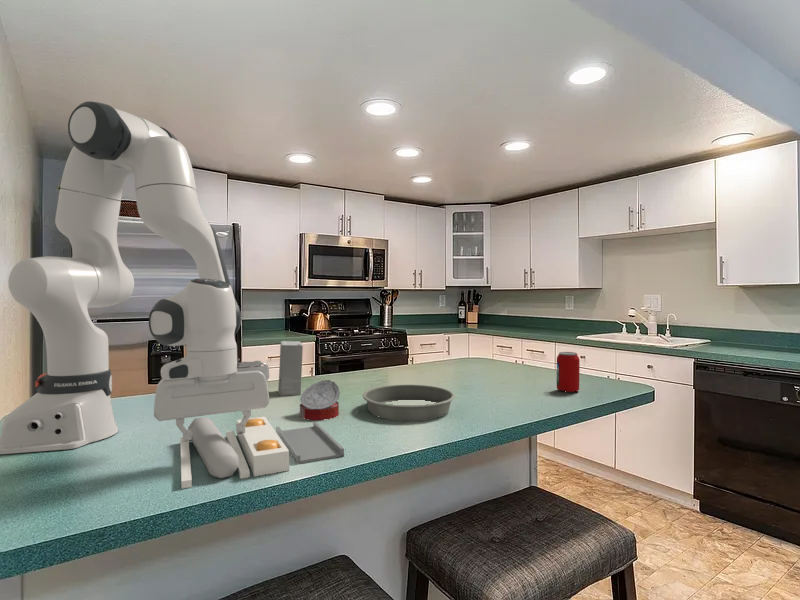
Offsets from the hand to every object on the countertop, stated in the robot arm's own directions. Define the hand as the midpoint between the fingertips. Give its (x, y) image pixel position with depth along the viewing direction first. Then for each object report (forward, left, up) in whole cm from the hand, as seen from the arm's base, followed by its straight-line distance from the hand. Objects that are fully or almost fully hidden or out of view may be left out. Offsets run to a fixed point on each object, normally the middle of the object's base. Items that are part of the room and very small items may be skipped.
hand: (214, 436), depth 88 cm
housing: (+3, 0, -4) cm, 5 cm away
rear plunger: (+8, +8, -4) cm, 12 cm away
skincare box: (+25, +50, -4) cm, 56 cm away
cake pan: (+49, +16, -5) cm, 52 cm away
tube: (0, +1, -5) cm, 5 cm away
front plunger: (+8, -8, -3) cm, 12 cm away
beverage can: (+104, +14, -4) cm, 105 cm away
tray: (+18, 0, -4) cm, 18 cm away
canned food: (+26, +21, -5) cm, 34 cm away
